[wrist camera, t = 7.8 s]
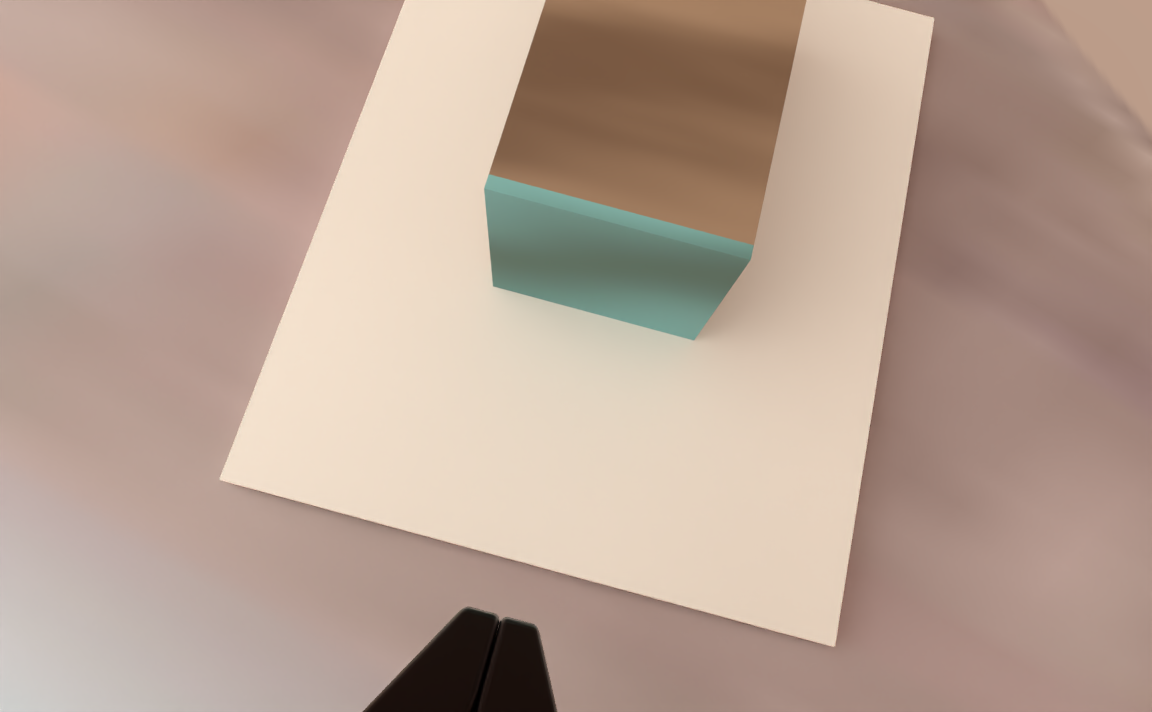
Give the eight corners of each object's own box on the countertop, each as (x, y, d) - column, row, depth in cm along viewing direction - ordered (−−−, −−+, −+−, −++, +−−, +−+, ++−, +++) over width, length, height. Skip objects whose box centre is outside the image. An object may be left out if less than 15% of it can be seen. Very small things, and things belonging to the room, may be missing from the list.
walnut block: (750, 260, 15) (832, -120, 17) (484, 188, 15) (604, -180, 17) (693, 340, 19) (764, 35, 22) (492, 286, 20) (586, -13, 22)
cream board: (824, 645, 18) (835, 647, 18) (228, 483, 18) (219, 479, 18) (924, 32, 23) (934, 18, 23) (450, -94, 23) (448, -112, 23)
